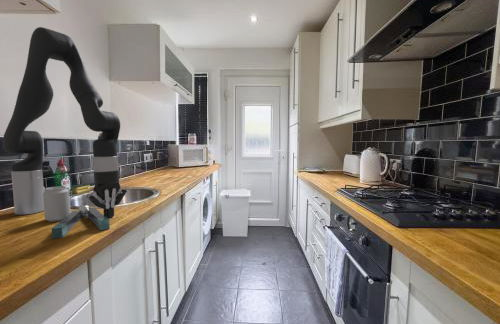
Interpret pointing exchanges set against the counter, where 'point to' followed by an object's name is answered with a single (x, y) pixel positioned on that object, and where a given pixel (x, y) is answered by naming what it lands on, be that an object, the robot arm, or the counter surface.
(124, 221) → the counter surface
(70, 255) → the counter surface
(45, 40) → the robot arm
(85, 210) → the tong base
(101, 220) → the tong arm
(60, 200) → the can
